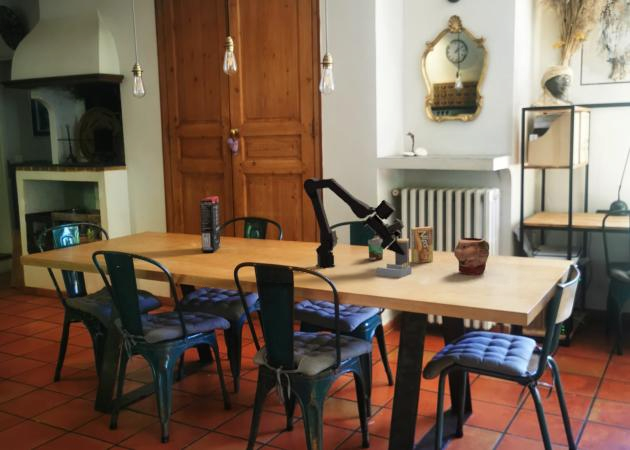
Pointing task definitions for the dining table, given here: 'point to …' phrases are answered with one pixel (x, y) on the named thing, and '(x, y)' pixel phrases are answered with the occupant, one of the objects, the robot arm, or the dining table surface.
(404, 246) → the plug block
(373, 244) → the food container
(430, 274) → the dining table surface
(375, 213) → the robot arm
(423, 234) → the candy box
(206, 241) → the graphics card box
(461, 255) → the decorative planter
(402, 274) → the header shroud
